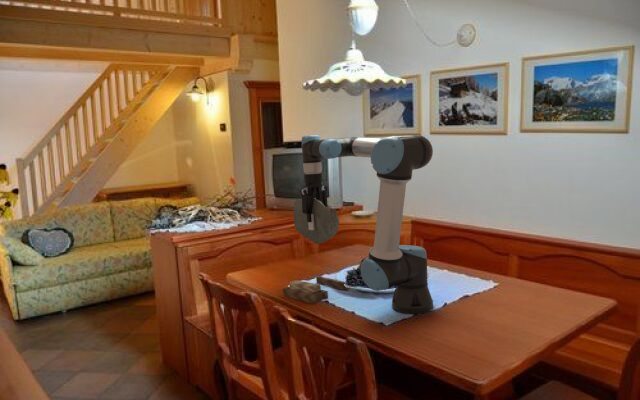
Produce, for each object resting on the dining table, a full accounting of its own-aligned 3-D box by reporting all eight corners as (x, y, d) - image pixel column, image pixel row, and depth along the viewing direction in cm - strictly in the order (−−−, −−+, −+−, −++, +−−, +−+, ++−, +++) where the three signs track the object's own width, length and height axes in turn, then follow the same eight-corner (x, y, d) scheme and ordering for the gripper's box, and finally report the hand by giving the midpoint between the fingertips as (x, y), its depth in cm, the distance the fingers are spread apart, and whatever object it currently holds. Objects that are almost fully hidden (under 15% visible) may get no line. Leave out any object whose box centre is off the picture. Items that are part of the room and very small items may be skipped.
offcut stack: (321, 298, 197) (320, 284, 196) (315, 301, 194) (314, 287, 193) (295, 293, 206) (294, 279, 205) (289, 296, 203) (288, 282, 202)
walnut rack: (349, 289, 206) (348, 282, 205) (313, 304, 191) (312, 296, 190) (319, 282, 218) (318, 276, 218) (283, 295, 203) (282, 288, 203)
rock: (345, 246, 195) (341, 197, 193) (334, 249, 191) (330, 200, 189) (303, 239, 215) (299, 194, 212) (292, 242, 211) (288, 196, 208)
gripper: (321, 170, 208) (325, 223, 211) (290, 175, 196) (294, 231, 199) (334, 170, 203) (337, 225, 206) (303, 175, 190) (307, 233, 193)
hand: (316, 228), depth 202 cm, fingers closed on rock, 5 cm apart
